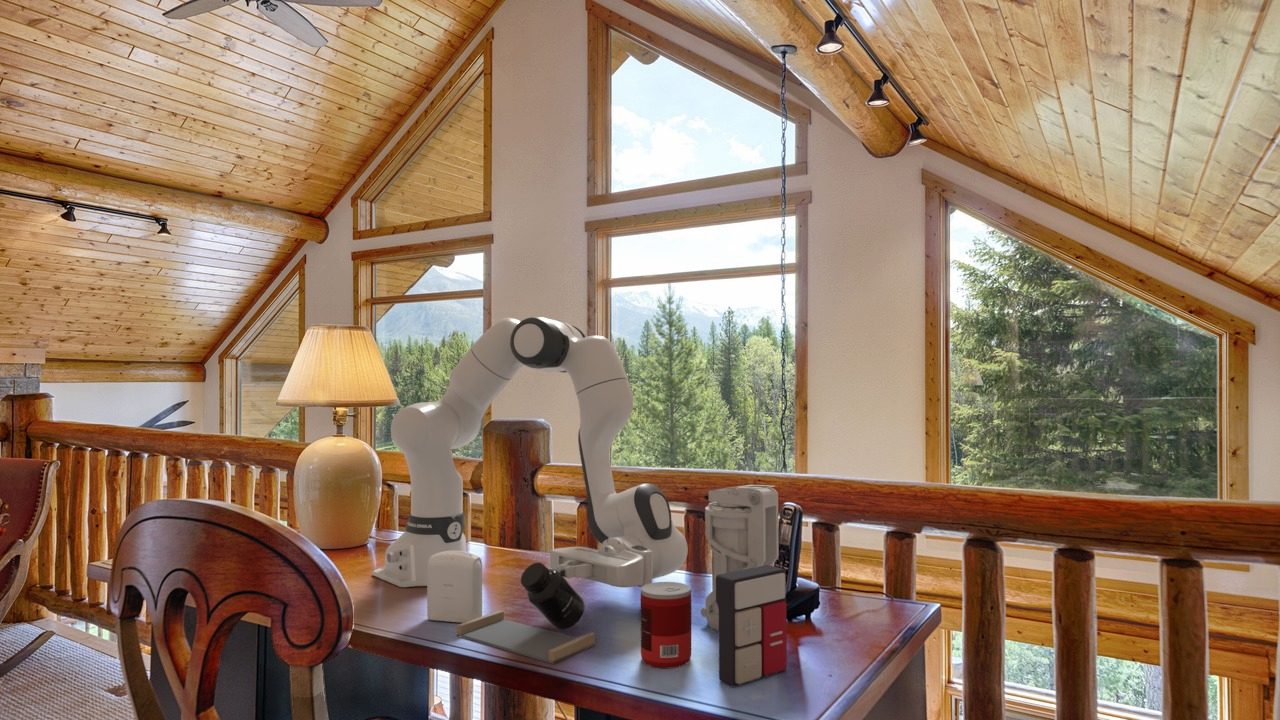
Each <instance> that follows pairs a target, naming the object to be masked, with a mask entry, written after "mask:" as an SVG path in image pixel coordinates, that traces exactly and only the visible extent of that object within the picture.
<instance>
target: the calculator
mask: <svg viewBox="0 0 1280 720" xmlns="http://www.w3.org/2000/svg"><path fill="white" fill-rule="evenodd" d="M786 592H787V591H786V570H785V569H784V568H780V567H777V566H773V565H772V566H770V565H764V566H759V567H754V568H749V569H744V570H739V571H734V572H729V573H724V574H719V575H717V576H716V602H717V605H718V608H719V631H718V679H719V681H720V682H722V683H724V684H726V685H729V686H730V687H733V688H736V687H739V686H742V685H745V684H748V683H751V682H753V681H757V680H759V679H760V680H761V679H763V678H767V677H769V676H772V675H775V674H778V673H782V672H785V670H787V668H788V663H787V662H788V658H787V657H788V650H787V649H788V645H787V643H788V642H787V639H788V637H787V633H788V632H787V629H788V628H787V626H788V625H787V602H786V598H787V597H786V596H787V595H786Z"/></svg>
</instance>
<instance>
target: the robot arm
mask: <svg viewBox="0 0 1280 720" xmlns="http://www.w3.org/2000/svg"><path fill="white" fill-rule="evenodd" d="M523 366H526V367H528V368H531V369H537V370H540V371H544V372H549V373H550V372H551V373H552V372H556V373H557V372H559V373H567V374H568V375H569V376H570V378H571V381H572V384H573V386H574V391H575V394H576V397H577V401H578V407H579V416H580V421H579V423H580V424H579V429H578V432H577V433H578V434H577V435H578V437H577V440H578V441H577V442H578V448H579V449H578V450H579V456H580V461H581V468H582V474H583V480H584V484H585V485H584V486H585V491H586V497H587V524H588V528H589V531H590V532H591V534H592V536H593V537H594V538H595V539H596V540H597V542H599V543H600V544H601V545H600V546H599V548H598V549H595V548H592V547H591V548H590V547H587V546H586V547H585V546H569V547H559V548H553V549H551V551H550V552H549V554H550V555H549V569H553V570H556V571H558V572H559V573H560V574H561V575H562V576H563V577H564V578H565V579H566V578H567V579H570V578H571V579H572V578H583V579H587V580H591V581H594V582H598V583H602V584H604V585H608V586H612V587H615V588H623V589H624V588H633V587H639V588H642V587H643V586H644V585H647V584H650V583H653V582H652V581H653V579H658V578H661V577H662V578H663V577H665V576H668V575H670V574H672V573H674V572H676V571H678V570H679V569H680V568H681V567H682V566H683V565H684V563H685V562H686V559H687V556H688V549H689V548H688V543H687V540H686V538H685V536H684V534H683V533H682V532H680V530H679V529H678V528H677V527H676V526H675V524H674V522H673V520H672V511H671V508H670V507H671V506H670V505H669V504H670V503H669V500H668V498H667V497H666V494H664V492H663V491H662V490H661V489H660V488H658V486H656V485H654V484H651V483H648V482H647V483H641V484H639V485H636V486H633V487H630V488H628V489H625V490H624V491H621V492H618V493H617V491H616V488H615V482H614V478H613V471H612V467H611V460H610V450H611V446H612V444H613V442H614V441H615V438H616V436H618V434H619V432H621V431H622V429H623V428H624V427H625V426H626V424H627V423H628V422H629V420H630V418H631V416H632V414H633V411H634V396H633V392H632V388H631V385H630V382H629V380H628V376H627V374H626V370H625V368H624V366H623V363H622V361H621V358H620V356H619V354H618V352H617V350H616V349H615V346H614V345H613V343H612V341H611V340H609V338H606V337H605V336H603V335H589V336H586V334H585V333H584V332H583V331H582V330H580V329H579V328H578V327H577V326H575V325H571V324H569V323H567V322H565V321H561V320H558V319H553V318H552V319H551V318H547V317H543V316H531V317H527V318H524V319H523V320H520V319H517V318H514V317H504V318H501V319H499V320H498V321H497V322H495V323H494V324H493V325H492V326H491V327H489V328H488V329H486V331H485V332H484V333H483V334H482V335H481V336H480V337H479V338H478V339H477V340H476V341H474V343H473V344H472V346H471V347H470V348H469V349H468V351H467V352H465V354H464V355H463V357H462V358H461V359H460V360H459V361H458V363H456V365H455V366H454V368H453V369H452V370H451V371H450V373H449V384H448V386H447V389H446V391H445V392H444V394H443V395H442V396H441V398H439V399H438V400H436V401H429V402H427V401H426V402H424V401H423V402H416V403H413V404H410V405H407V406H405V407H403V408H401V409H400V410H398V411H397V412H396V413H395V415H394V416H393V418H392V421H391V424H390V434H391V438H392V441H393V442H394V444H395V445H396V446H397V447H398V448H399V449H400V451H401V452H402V454H403V455H404V458H405V463H406V464H407V465H406V466H407V469H408V473H409V478H410V498H411V500H410V502H411V503H410V508H411V509H410V514H409V516H408V515H407V516H404V517H403V519H405V520H403V521H402V522H403V523H406V525H405V529H404V530H405V531H404V532H403V533H402V534H401V535H400V536H399V537H398V538H396V540H394V541H393V542H392V543H391V544H390V545H389V546H388V547H387V548H386V551H385V556H384V566H381V567H379V568H376V569H374V570H373V572H372V573H373V574H372V575H373V576H374V577H375V578H378V579H380V580H383V581H386V582H387V583H390V584H392V585H395V586H397V587H399V588H410V587H427V566H428V561H429V559H430V557H431V556H432V555H434V554H437V553H440V552H444V551H463V552H468V550H467V539H466V535H465V534H464V529H465V525H466V523H465V522H466V518H465V512H464V511H463V507H464V506H463V505H464V504H463V501H464V499H463V497H464V495H463V494H464V491H463V490H464V489H463V488H464V485H463V483H464V482H463V481H464V479H463V477H462V475H461V473H460V472H459V471H458V470H457V468H456V465H455V463H454V459H453V453H452V450H456V449H460V448H462V447H465V446H466V445H469V444H470V443H471V442H472V441H474V440H475V439H476V438H477V437H478V435H479V433H480V430H481V422H482V420H483V418H484V415H485V414H486V412H487V411H488V408H489V407H490V406H491V404H492V403H493V401H494V400H495V399H496V398H497V396H498V395H499V394H500V393H501V392H502V390H504V388H505V387H506V386H507V385H508V383H510V381H511V379H512V378H513V377H514V376H515V375H516V374H517V373H518V372H519V370H520V369H521V368H522V367H523Z"/></svg>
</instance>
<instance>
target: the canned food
mask: <svg viewBox="0 0 1280 720" xmlns="http://www.w3.org/2000/svg"><path fill="white" fill-rule="evenodd" d="M640 656H641V661H642V662H643V663H644V664H646V665H647V666H649V665H650V667H653V668H656V667H658V668H659V669H674V668H675V669H676V668H679V666H680V667H682V665H683V666H685V665H687V664H686V663H689V662H690V659H691V656H692V588H691V586H689V585H688V584H685V583H682V582H676V581H657V582H656V581H655V582H652V583H650V584H647V585H644V586H643V587H640ZM658 668H657V669H658Z"/></svg>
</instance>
